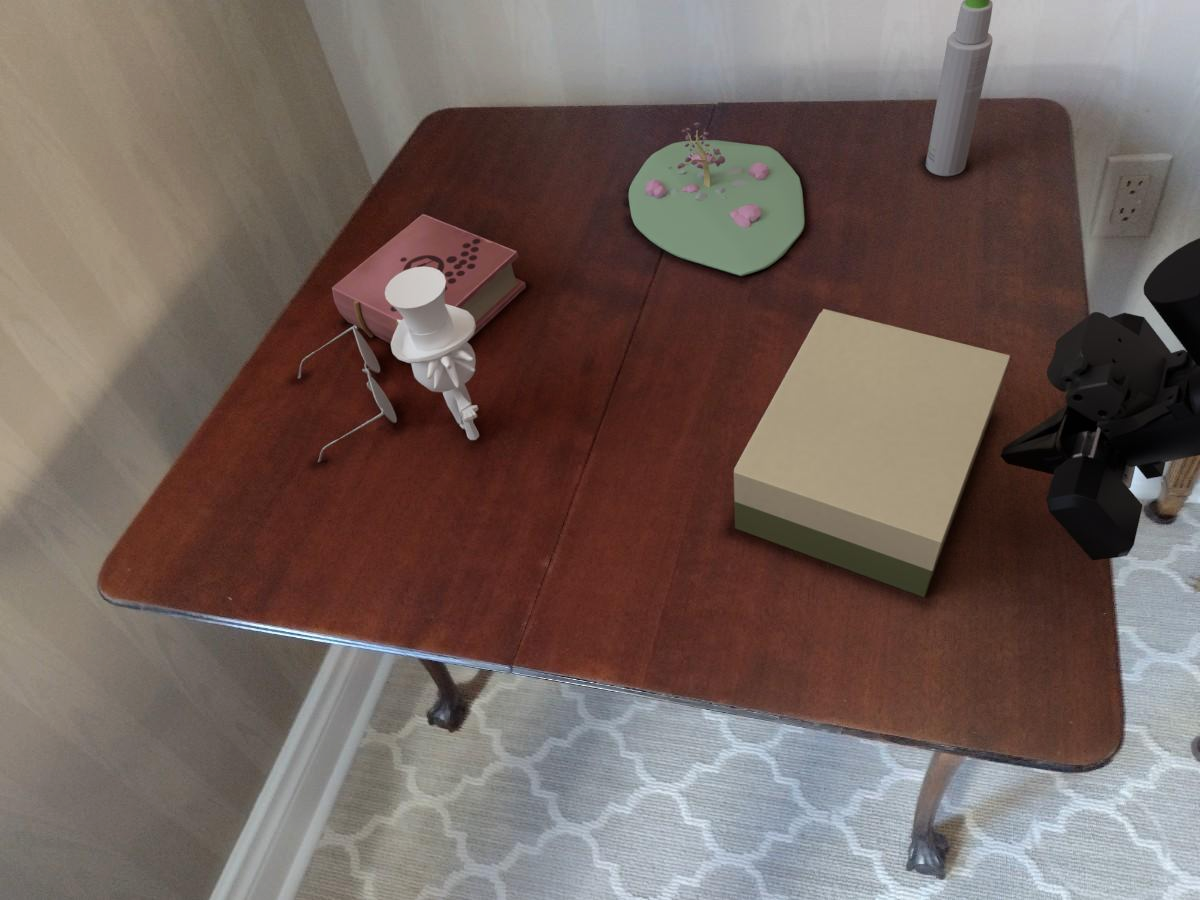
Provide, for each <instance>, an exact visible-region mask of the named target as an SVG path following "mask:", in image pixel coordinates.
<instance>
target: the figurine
mask: <svg viewBox="0 0 1200 900" xmlns="http://www.w3.org/2000/svg"><path fill="white" fill-rule="evenodd" d="M445 284H446V280H445V276H444V274H443V273H442V272H441V271H440V270H437V269H435V268H432V267H414V268H411V269H408V270H405V271H403V272H401V273H399V274H397V275H396V276H395V277H394V278H393V279H391V280H390V282H389V283H388V285H387V286H386V289H385V297H386V300H387V301H388V302H389V303H390V304H391V305H392V306H393V307H394V308H395V309H397V310H398V311H399V313H400V314H401V315H402V317H403V320H398V319H397V321H398V323H399V324H398V326H397V328H396V330H395V333H394V335H393V338H392V341H391V343H390V349H391V352H392V355H393V356H394V357H395V358H396V359H397V360H399V361H401V362H405V363H408V364H410V365H411V369H412V373H413V377H414V379H415V380H416V381H417V382H418V383H419V384H420V385H422V386H424V387H425V388H426V389H427V390H429V391H430V392H433V393H442V395H443V398H444V400H445V404H446V405H447V407H448V409H449V410H450V412H451V413H452V416H453V417H454V419H455V421H456V423H457V424H458V425H459V427H461V430H462V429H463V430H465V433H466V437H467V438H468V440H470V441H476V440H477V439H478V438H479V437H480V433H479V431H478V429H477V427H476V425H475V423H474V420H475V419H477V418H478V414H477V413H476V412H477V411H478V410H479V407H478V405H477V404H475V405H473V404H472V399H471V396H470V393H469V391H468V387H467V386H466V383H467V382H469V381H471V379H472V378H473V376H474V375H475V372H476V364H477V363H476V361H477V360H476V354H475V351H474V349H473V346H472V345H471V344H470V343H469V341H470V340H471V339H472V338H473V337H474V336H473V334H474V331H475V327H476V324H475V321H474V317H473V316H472V315H471V314H470V313H469V312H468V311H466V310H463V309H461V308H458V307H454V306H451V305H447V304H445V297H444V292H445ZM472 336H473V337H472ZM471 337H472V338H471ZM470 338H471V339H470ZM469 339H470V340H469ZM468 340H469V341H468ZM467 341H468V342H467Z"/></svg>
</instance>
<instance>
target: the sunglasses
mask: <svg viewBox="0 0 1200 900" xmlns="http://www.w3.org/2000/svg"><path fill="white" fill-rule="evenodd" d="M358 329H359V327H357V326H356V325H352V326H351V327H349V328H348V329H346V330H345V331H343V332H342V333H340V334H339V335H337V336H336V337H334V338H333V339H331V340H330V341H328V342H327V343H325V344H324V345H322V346H321V347H319V348H318V349H316V350H315V351H313V352H311V353H310V354H308V355H307V356H305V357H304V358H303V359H302V360H301V361H300V364H299V369H298V376H297V379H301V377H302V366H303V363H304V361H306V360H307V359H309V358H310V357H311V356H313V355H314V354H315V353H316V352H319V351H320V350H321V349H323V348H324V347H326V346H327V345H330V344H331V343H332V342H334V341H336V340H337V339H339V338H340V337H343V336H344V335H345V334H347V333H349V332H350V331H352V332H353V335H354V337H355V340H356V343H357V347H358V350H359V352H360V355H361V357H362V359H363V361H364V368H362V370H361V371H362V372H363V373H365V374H366V375H367V378H368V381H367V382H366V387H367V388H368V390H370V392H372V396H373V398H374V400H375V402H376V405H377V406H378V408H379V410H380V411H381V412H380V413H379V414H378V415H376V416H374V417H373V418H371V419H369V420H367V421H366V422H363V424H361V425H359V426H358V427H356V428H354V429H352V430H351V431H349V432H347V433H346V434H344V435H343V436H341V437H339V438H338V439H335V440H334V441H331V442H330V443H328V444H326V445H324V446H323V448H322V449H321V451H320V453H319V457H318V461H317V463H321V462H322V458H323V452H324V451H325V450H326V449H328V447H331V446H332V445H334V444H335V443H337V442H338V441H340V440H342V439H343V438H344V437H346V436H348V435H350V434H352V433H354V432H356V431H358V430H359V429H361V428H363V427H365V426H367V425H368V424H370V423H372V422H374V421H376V420H377V419H379V418H381V417H382V416H385V417H386V418H387V419H388V420H389V421H390V422H391V423H393V424H395V423H397V420H398V419H397V415H396V412H395V410H394V407H393V405H392V403H391V401H390V400H389V398H388V397H387V395H386V393H385V392H384V390H383V389H382V388H381V386H380V385H379V383H378V382H377V381H376V379H374V377H373V376H372V375H373V373H371V372H374V373H376V374H379V373H380V372H381V366H380V364H379V361H378V360H377V359H378V358H377V357H376V355H375V353H374V352H373V350H372V348H371V346H370V345H369V344H368V342H367V340H366V339H365V338H364V337H363V335H362V334H361V333H360V332H359V330H358ZM367 367H368V368H367ZM370 371H371V372H370Z"/></svg>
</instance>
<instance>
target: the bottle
mask: <svg viewBox="0 0 1200 900" xmlns="http://www.w3.org/2000/svg"><path fill="white" fill-rule="evenodd" d="M993 5H994V3H993V1H992V0H963V1H962V2H961V3H960V7H959V12H958V14H957V15H958V16H957V21H956V25H955V31H953V32H951V33H950V35H948V37H947V42H946V47H945V52H944V59H943V64H942V68H941V69H942V70H941V75H940V80H939V85H938V91H937V97H936V103H935V104H936V105H935V108H934V109H935V110H934V115H933V121H932V126H931V130H930V131H931V132H930V138H929V143H928V149H927V154H926V160H925V167H926V169H927V170H928V171H929V172H930V173H931V174H934V175H935V176H940V177H953V176H956V175H959V174H961V173H962V172H964V170H965V168H966V165H967V161H968V157H969V151H970V148H971V142H972V137H973V133H974V128H975V124H976V119H977V115H978V110H979V106H980V101H981V98H982V97H981V96H982V91H983V86H984V83H985V77H986V73H987V70H988V69H987V68H988V64H989V59H990V55H991V51H992V45H993V36H992V35H991V34H990V33H989V30H990V25H991V21H992V12H993Z"/></svg>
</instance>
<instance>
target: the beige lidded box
mask: <svg viewBox="0 0 1200 900" xmlns="http://www.w3.org/2000/svg"><path fill="white" fill-rule="evenodd" d="M1010 358H1011V355H1010V354H1006V353H1001V352H999V351H998V352H997V351H994V350H990V349H986V348H981V347H978V346H974V345H970V344H965V343H963V342H958V341H954V340H950V339H945V338H941V337H937V336H934V335H929V334H926V333H922V332H918V331H913V330H910V329H906V328H902V327H897V326H895V325H890V324H885V323H881V322H878V321H874V320H869V319H866V318H863V317H857V316H853V315H850V314H846V313H842V312H838V311H834V310H830V309H826V308H823V309H822V311H821V312H819V314H818V315H817V317H816V319H815V321H814V323H813V324H812V327H811V328H810V330H809V332H808V334H807V335H806V338H805V339H804V341H803V343H802V345H801V347H800V348H799V350H798V352H797V354H796V356H795V358H794V359H793V361H792V363H791V365H790V367H789V368H788V369H787V372H786V373H785V375H784V377H783V378H782V381H781V383H780V385H778V389H777V390H776V392H775V393H774V395H773V398H772V399H771V401H770V403H769V404H768V407H767V408H766V410H765V412H764V413H763V415H762V417H761V419H760V421H759V422H758V424H757V426H756V428H755V430H754V432H753V433H752V436H751V437H750V439H749V440H748V442H747V445H746V447H745V448H744V449H743V452H742V454H741V455H740V457H739V459H738V461H737V463H736V464H735V466H734V468H733V497H734V499H733V501H734V528H735V529H736V530H738V531H741V532H744V533H747V534H749V535H752V536H755V537H758V538H761V539H763V540H765V541H768V542H771V543H773V544H776V545H779V546H782V547H785V548H787V549H790V550H793V551H795V552H798V553H802V554H803V555H806V556H809V557H812V558H815V559H818V560H820V561H823V562H826V563H828V564H832V565H834V566H837V567H840V568H842V569H845V570H849V571H851V572H854V573H856V574H859V575H862V576H864V577H867V578H870V579H872V580H875V581H878V582H881V583H884V584H885V585H886V584H887V585H889V586H891V587H895V588H897V589H900V590H903V591H904V592H905V591H906V592H908V593H910V594H913V595H916V596H919V597H922V598H925V597H926V595H927V592H928V590H929V587H930V584H931V581H932V579H933V575H934V573H935V570H936V568H937V565H938V562H939V559H940V556H941V554H942V552H943V549H944V546H945V543H946V541H947V539H948V535H949V532H950V530H951V526H952V524H953V522H954V518H955V515H956V513H957V510H958V507H959V505H960V502H961V499H962V497H963V495H964V491H965V490H966V489H965V488H966V486H967V483H968V480H969V477H970V475H971V472H972V470H973V466H974V463H975V461H976V458H977V456H978V453H979V451H980V447H981V445H982V442H983V439H984V437H985V434H986V432H987V428H988V426H989V423H990V420H991V417H992V415H993V412H994V408H995V405H996V402H997V399H998V396H999V393H1000V389H1001V386H1002V384H1003V380H1004V377H1005V374H1006V372H1007V368H1008V366H1009V363H1010V362H1009V361H1010Z"/></svg>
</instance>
